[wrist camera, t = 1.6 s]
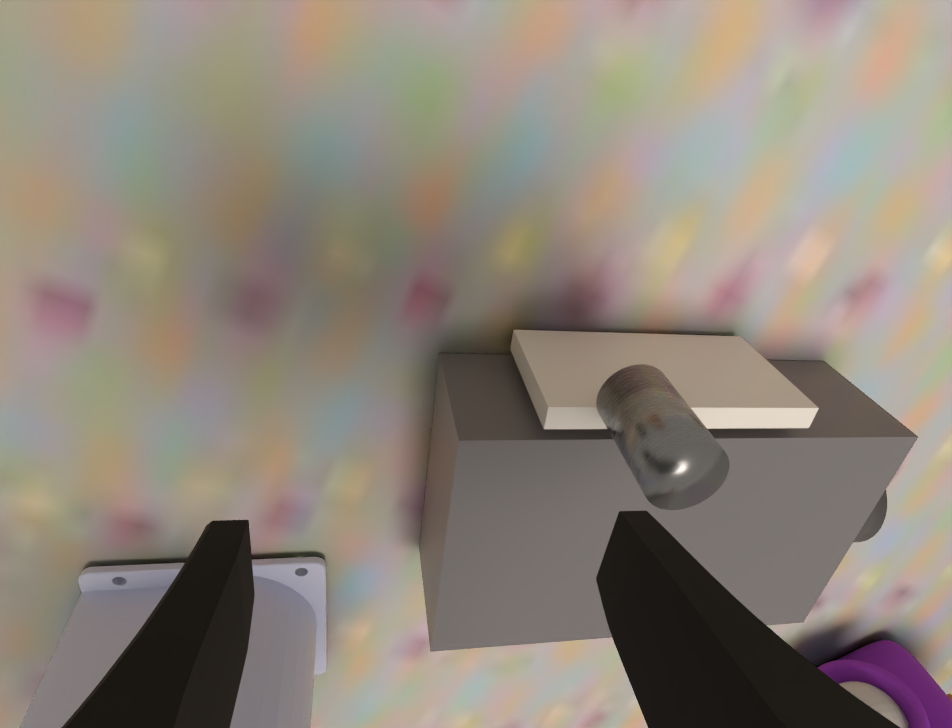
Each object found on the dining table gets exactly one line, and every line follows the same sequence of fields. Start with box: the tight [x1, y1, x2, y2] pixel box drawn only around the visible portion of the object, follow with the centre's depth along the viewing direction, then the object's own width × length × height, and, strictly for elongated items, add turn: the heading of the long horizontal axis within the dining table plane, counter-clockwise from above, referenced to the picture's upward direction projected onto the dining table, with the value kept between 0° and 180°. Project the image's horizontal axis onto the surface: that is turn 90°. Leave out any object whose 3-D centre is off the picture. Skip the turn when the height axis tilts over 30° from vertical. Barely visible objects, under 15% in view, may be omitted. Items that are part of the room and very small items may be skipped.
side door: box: [510, 330, 819, 510], centre depth 19 cm, size 9×2×8 cm, turn 83°
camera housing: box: [419, 353, 918, 651], centre depth 24 cm, size 18×10×5 cm, turn 83°
